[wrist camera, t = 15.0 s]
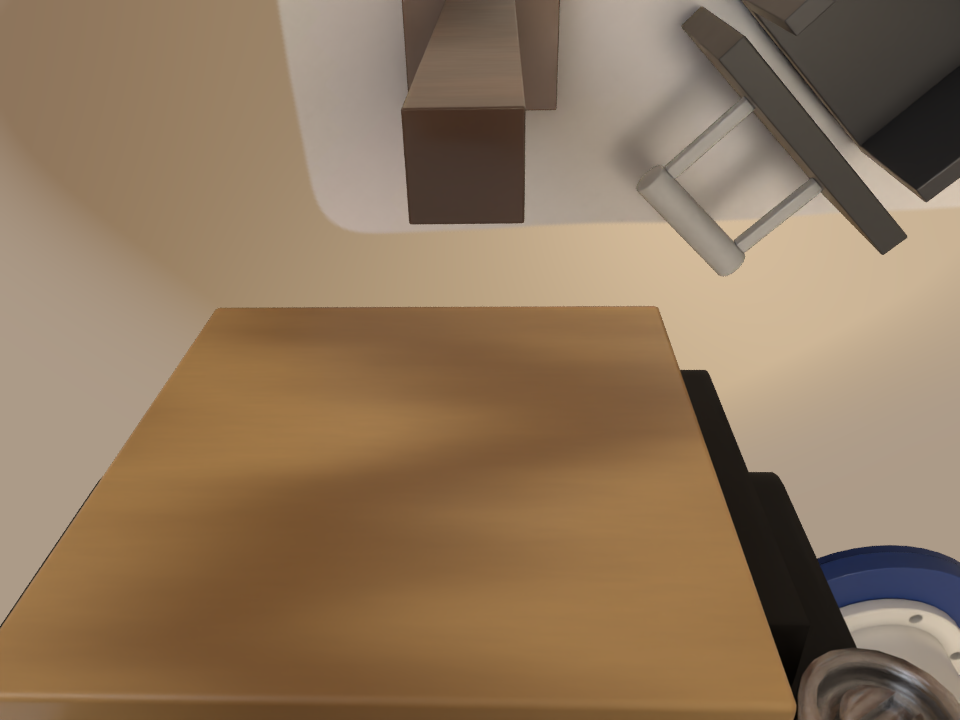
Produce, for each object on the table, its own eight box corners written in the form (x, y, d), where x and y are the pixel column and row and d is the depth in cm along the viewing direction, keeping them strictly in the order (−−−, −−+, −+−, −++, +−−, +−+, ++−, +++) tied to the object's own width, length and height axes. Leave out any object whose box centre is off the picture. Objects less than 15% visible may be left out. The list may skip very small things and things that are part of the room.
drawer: (729, 269, 42) (769, 339, 36) (585, 118, 38) (601, 167, 32) (1047, 17, 35) (1164, 50, 29) (912, -200, 31) (1014, -216, 25)
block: (658, 304, 9) (801, 707, 5) (625, 612, 11) (694, 1052, 7) (215, 305, 9) (-51, 695, 5) (281, 607, 12) (149, 1035, 7)
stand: (559, -59, 35) (615, 14, 18) (554, 103, 38) (597, 292, 21) (401, -56, 35) (306, 20, 18) (411, 106, 39) (341, 294, 22)
